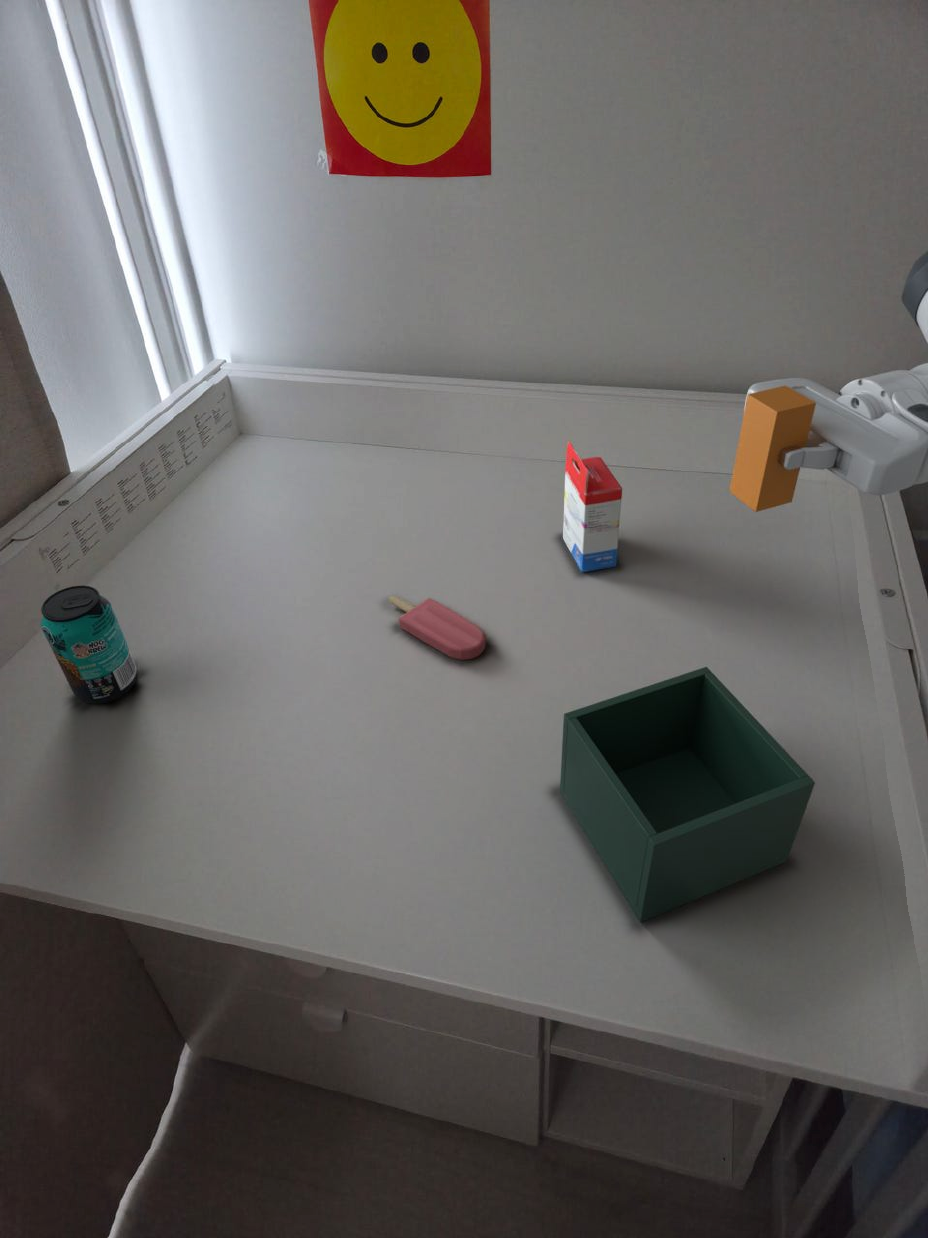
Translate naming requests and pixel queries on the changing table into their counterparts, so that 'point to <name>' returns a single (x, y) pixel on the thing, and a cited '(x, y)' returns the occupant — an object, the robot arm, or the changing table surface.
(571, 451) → the ink box
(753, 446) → the orange rectangular prism
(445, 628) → the popsicle
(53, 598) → the beverage can
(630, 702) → the open green box
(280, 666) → the changing table surface
